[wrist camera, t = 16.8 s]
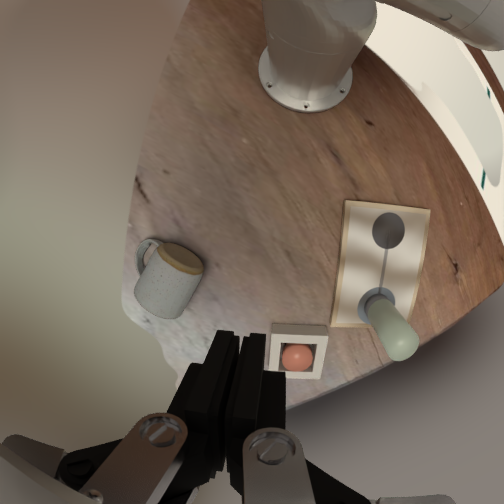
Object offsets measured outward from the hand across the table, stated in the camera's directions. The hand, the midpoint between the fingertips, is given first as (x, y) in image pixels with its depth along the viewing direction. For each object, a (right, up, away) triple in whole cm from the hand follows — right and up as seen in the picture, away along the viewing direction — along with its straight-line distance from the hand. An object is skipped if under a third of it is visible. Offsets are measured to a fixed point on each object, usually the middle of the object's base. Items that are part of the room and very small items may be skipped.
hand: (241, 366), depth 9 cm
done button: (+7, -11, +31) cm, 33 cm away
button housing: (+7, -11, +32) cm, 35 cm away
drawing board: (+19, +2, +28) cm, 34 cm away
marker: (+18, -4, +28) cm, 34 cm away
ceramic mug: (-12, +2, +31) cm, 33 cm away
